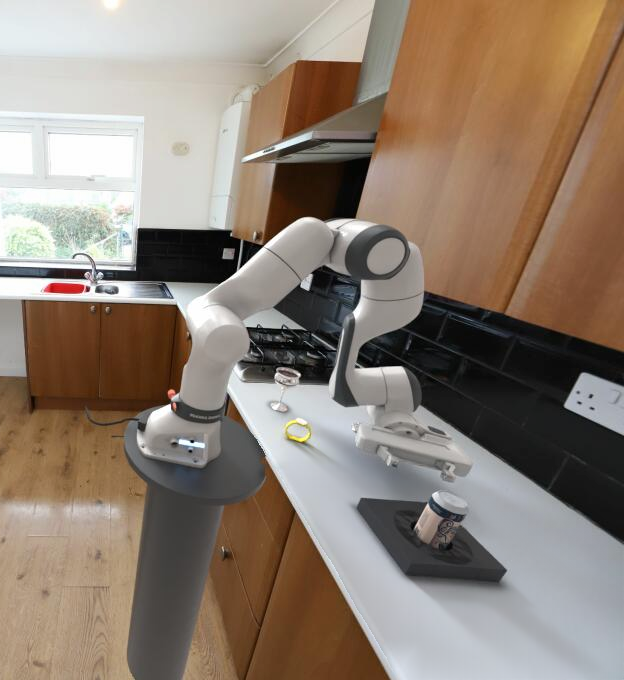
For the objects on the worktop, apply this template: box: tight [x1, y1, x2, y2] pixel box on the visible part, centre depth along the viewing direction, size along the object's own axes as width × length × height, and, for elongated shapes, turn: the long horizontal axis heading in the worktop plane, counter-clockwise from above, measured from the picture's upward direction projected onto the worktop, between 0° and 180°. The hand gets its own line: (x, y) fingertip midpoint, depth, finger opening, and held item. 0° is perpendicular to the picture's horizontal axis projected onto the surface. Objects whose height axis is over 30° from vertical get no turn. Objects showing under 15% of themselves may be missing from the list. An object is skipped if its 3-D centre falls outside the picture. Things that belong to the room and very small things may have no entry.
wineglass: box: [269, 366, 302, 412], centre depth 106 cm, size 7×7×12 cm
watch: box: [284, 417, 312, 443], centre depth 92 cm, size 6×3×6 cm, turn 66°
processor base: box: [356, 497, 508, 583], centre depth 66 cm, size 16×14×3 cm
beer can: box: [413, 489, 469, 550], centre depth 63 cm, size 5×5×12 cm
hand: (421, 471), depth 72 cm, fingers open, 8 cm apart
